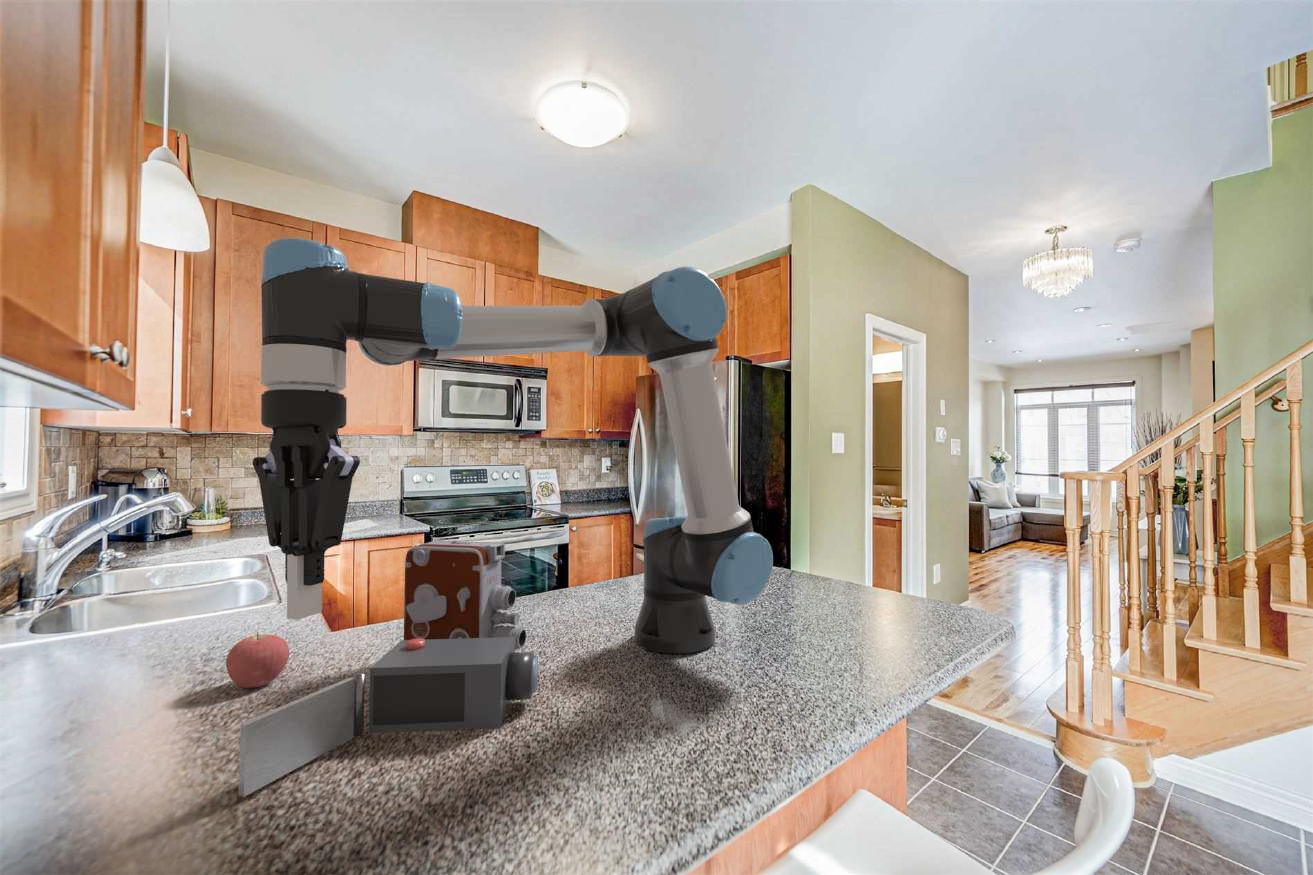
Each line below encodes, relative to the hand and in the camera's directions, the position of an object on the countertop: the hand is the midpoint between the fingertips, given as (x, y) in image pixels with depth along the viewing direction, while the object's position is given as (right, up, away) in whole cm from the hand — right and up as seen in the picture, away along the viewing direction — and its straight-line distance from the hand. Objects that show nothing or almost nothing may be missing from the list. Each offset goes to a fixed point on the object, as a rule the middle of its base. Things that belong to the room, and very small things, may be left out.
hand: (304, 615), depth 55 cm
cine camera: (+5, -19, +32) cm, 38 cm away
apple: (-23, -19, +24) cm, 38 cm away
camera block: (+11, -18, +16) cm, 26 cm away
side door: (-2, -17, +4) cm, 18 cm away
